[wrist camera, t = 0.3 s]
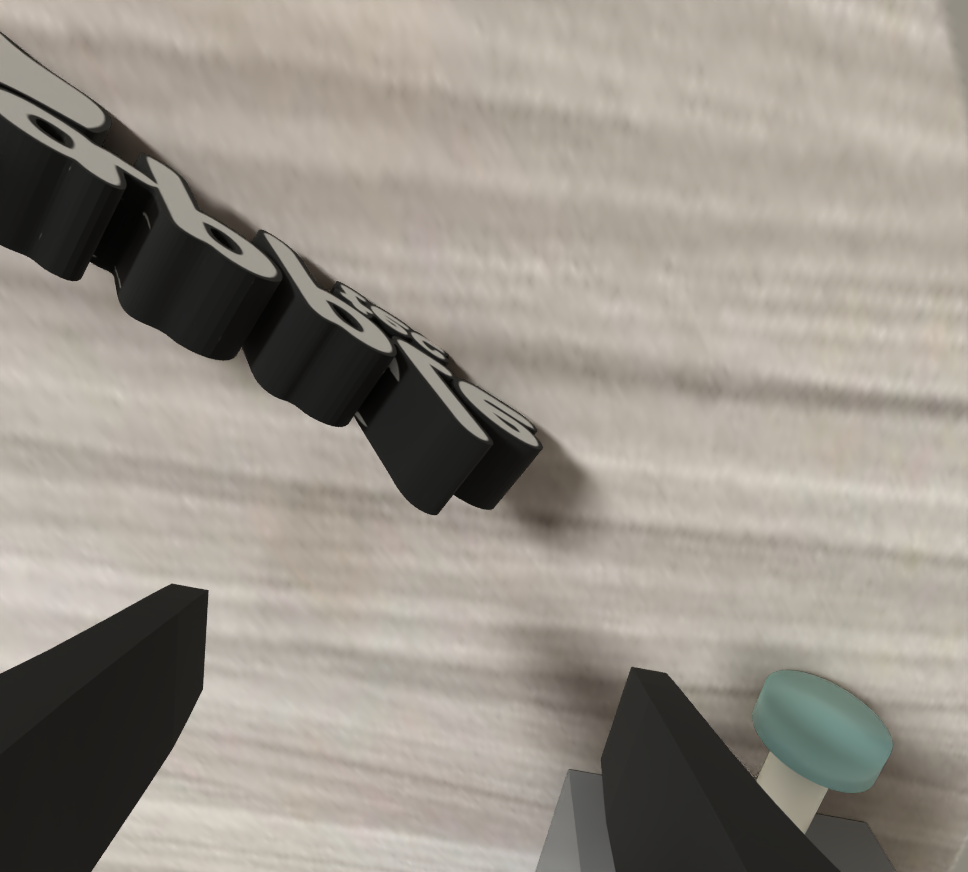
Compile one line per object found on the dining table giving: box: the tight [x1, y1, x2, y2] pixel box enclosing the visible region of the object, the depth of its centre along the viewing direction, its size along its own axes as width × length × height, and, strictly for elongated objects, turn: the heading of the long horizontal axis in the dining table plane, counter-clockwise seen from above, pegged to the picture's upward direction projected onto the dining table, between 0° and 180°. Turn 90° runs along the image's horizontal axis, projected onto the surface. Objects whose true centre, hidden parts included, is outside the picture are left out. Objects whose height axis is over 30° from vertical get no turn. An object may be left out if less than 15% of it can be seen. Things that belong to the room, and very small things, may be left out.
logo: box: [0, 32, 543, 515], centre depth 15 cm, size 21×2×10 cm, turn 54°
